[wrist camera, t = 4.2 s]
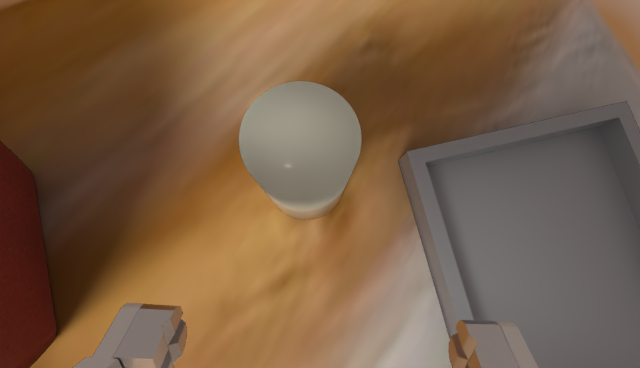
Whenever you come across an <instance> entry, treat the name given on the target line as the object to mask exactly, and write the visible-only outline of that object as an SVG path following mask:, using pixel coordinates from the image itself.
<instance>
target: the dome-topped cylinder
mask: <svg viewBox="0 0 640 368" xmlns="http://www.w3.org/2000/svg"><path fill="white" fill-rule="evenodd" d="M361 142H362V137H361V129H360V124H359V121H358V118H357V116H356V114H355V112H354V110H353V109H352V107H351V106H350V104H349V103H348V102H347V101H346V100H345V99H344V98H343V97H342V96H341V95H340V94H338V93H337V92H335V91H334V90H332V89H330V88H328V87H326V86H324V85H321V84H318V83H314V82H307V81H294V82H287V83H284V84H280V85H277V86H275V87H273V88H271V89H269V90H267V91H266V92H264V93H263V94H262V95H260V96H259V97H258V98H257V99H256V100H255V101H254V102H253V103H252V105H251V106H250V107H249V109H248V110H247V112H246V113H245V116H244V118H243V120H242V123H241V127H240V132H239V148H240V153H241V157H242V160H243V162H244V164H245V166H246V168H247V170H248V171H249V173H250V174H251V175H252V177H253V178H254V179H255V180H256V182H257V183H258V184H259V185H260V187H261V188H262V189H263V190H264V192H265V193H266V194H267V195H268V197H269V198H270V199H271V200H272V201H273V203H274V204H275V205H276V206H277V208H278V209H279V210H280V211H281V212H283V213H284V214H286V215H287V216H289V217H292V218H294V219H299V220H313V219H317V218H320V217H322V216H324V215H326V214H327V213H329V212H330V211H331V210H332V209H333V208H334V207H335V206H336V205H337V203H338V202H339V200H340V198H341V196H342V194H343V191H344V189H345V187H346V185H347V183H348V180H349V178H350V176H351V174H352V172H353V169H354V167H355V165H356V163H357V160H358V158H359V155H360V150H361Z"/></svg>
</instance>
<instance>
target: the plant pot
mask: <svg viewBox="0 0 640 368" xmlns="http://www.w3.org/2000/svg"><path fill="white" fill-rule="evenodd" d="M55 336H56V321H55V315H54V309H53V303H52V295H51V288H50V282H49V276H48V269H47V263H46V256H45V249H44V243H43V236H42V229H41V223H40V216H39V210H38V203H37V196H36V190H35V183H34V177H33V175H32V172H31V171H30V169H29V168H28V167H27V166H26V165H25V164H24V163H23V162H22V161H21V160H20V159H19V158H18V157H17V156H16V155H15V154H14V153H13V152H12V151H11V150H10V149H8V148H7V147H6V146H5V145H4V144H3V143H2V142H1V141H0V368H30V367H31V366H32V365H33V364H34V363H35V362H36V361H37V360H38V358H39V357H40V356H41V355H42V354H43V353H44V352H45V351H46V350H47V348H48V347H49V346H50V345H51V344H52V343H53V341H54V339H55Z"/></svg>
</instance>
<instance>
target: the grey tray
mask: <svg viewBox="0 0 640 368" xmlns="http://www.w3.org/2000/svg"><path fill="white" fill-rule="evenodd" d="M398 162H399V166H400V169H401V172H402V176H403V179H404V183H405V186H406V190H407V193H408V196H409V200H410V203H411V207H412V210H413V214H414V217H415V221H416V224H417V227H418V231H419V234H420V238H421V241H422V245H423V248H424V251H425V255H426V258H427V262H428V265H429V269H430V272H431V275H432V279H433V282H434V286H435V289H436V293H437V296H438V299H439V303H440V306H441V310H442V313H443V317H444V320H445V323H446V327H447V330H448V334H449V337H450V339H451V337H452V335H454V334H456V333H457V330H456V325H457V323H458V321H460V320H487V321H498V322H513V323H515V324H516V325H517V327H518V329H519V330H520V332H521V334H522V336H523V338H524V340H525V342H526V344H527V346H528V348H529V350H530V352H531V354H532V356H533V358H534V360H535V362H536V364H537V366H538V368H640V130H639V128H638V126H637V123H636V121H635V119H634V117H633V114H632V112H631V110H630V107H629V105H628V103H627V101H625V102H620V103H616V104H611V105H607V106H603V107H598V108H594V109H590V110H585V111H581V112H577V113H572V114H568V115H563V116H559V117H555V118H550V119H546V120H542V121H537V122H533V123H529V124H524V125H520V126H515V127H511V128H507V129H502V130H498V131H494V132H489V133H485V134H481V135H476V136H472V137H467V138H463V139H459V140H454V141H450V142H446V143H441V144H437V145H433V146H428V147H424V148H419V149H415V150H411V151H407V152H406V153H405V154H404V155H403V156H402V157H401V159H400V160H399V161H398Z"/></svg>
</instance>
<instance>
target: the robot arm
mask: <svg viewBox="0 0 640 368" xmlns="http://www.w3.org/2000/svg"><path fill="white" fill-rule="evenodd" d="M182 314H183V312H182V309H181V306H170V305H154V304H141V303H126V304H125V305H124V306H123V307H122V308H121V309H120V311H119V312H118V314H117V316H116V317H115V319H114V321H113V323H112V324H111V326H110V328H109V329H108V331H107V333H106V334H105V336H104V338H103V339H102V341H101V343H100V344H99V346H98V348H97V349H96V351H95V353H94V355H93V356H92V357H86V358H85V359H83V360H82V361H81V362H79V363H78V364H77V365H75V366H74V367H73V368H175V366H174V362H175V361H176V360H177V359H178V358H180V357H181V356H182V353H183V351H184V348H185V344H186V339H187V326H186V323H185V322H184V321H183V320H181V317H182ZM456 330H457V333H456V334H454V335H452V337H451V339H450V342H449V357H450V362H451V365H452V368H538V366H537V364H536V362H535V360H534V358H533V356H532V354H531V352H530V350H529V348H528V346H527V344H526V342H525V340H524V338H523V336H522V334H521V332H520V330H519V329H518V327H517V325H516V324H515V323H513V322H498V321H487V320H460V321H458V323H457V325H456Z"/></svg>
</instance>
